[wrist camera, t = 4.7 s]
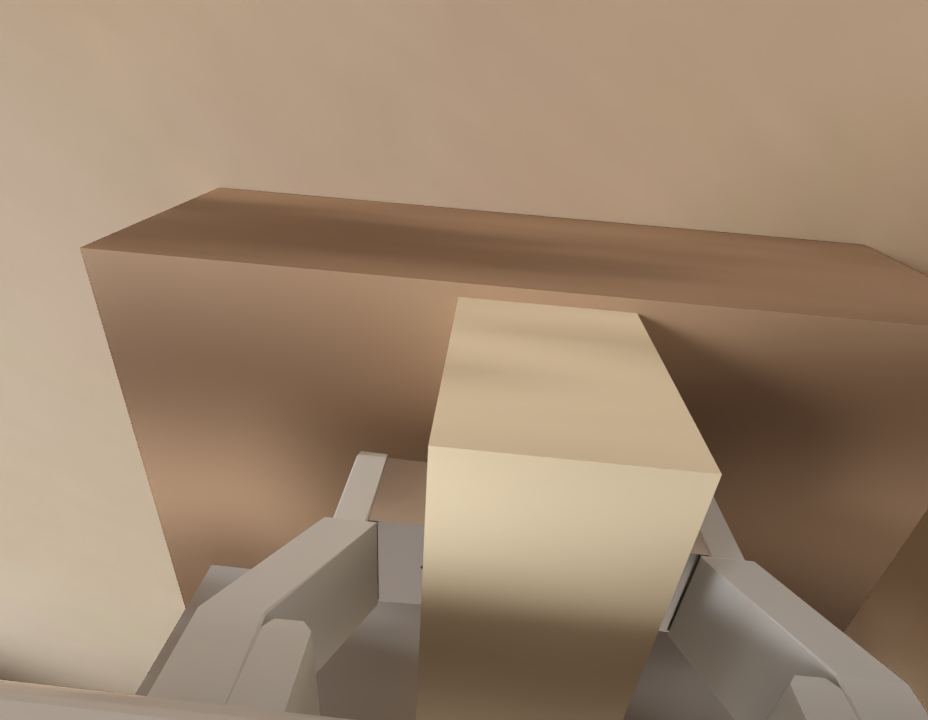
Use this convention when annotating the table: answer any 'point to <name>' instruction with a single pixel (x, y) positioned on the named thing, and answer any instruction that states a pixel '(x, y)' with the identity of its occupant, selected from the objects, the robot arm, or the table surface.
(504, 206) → the table surface
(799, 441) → the walnut board
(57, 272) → the table surface
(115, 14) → the table surface
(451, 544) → the scraper
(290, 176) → the table surface
